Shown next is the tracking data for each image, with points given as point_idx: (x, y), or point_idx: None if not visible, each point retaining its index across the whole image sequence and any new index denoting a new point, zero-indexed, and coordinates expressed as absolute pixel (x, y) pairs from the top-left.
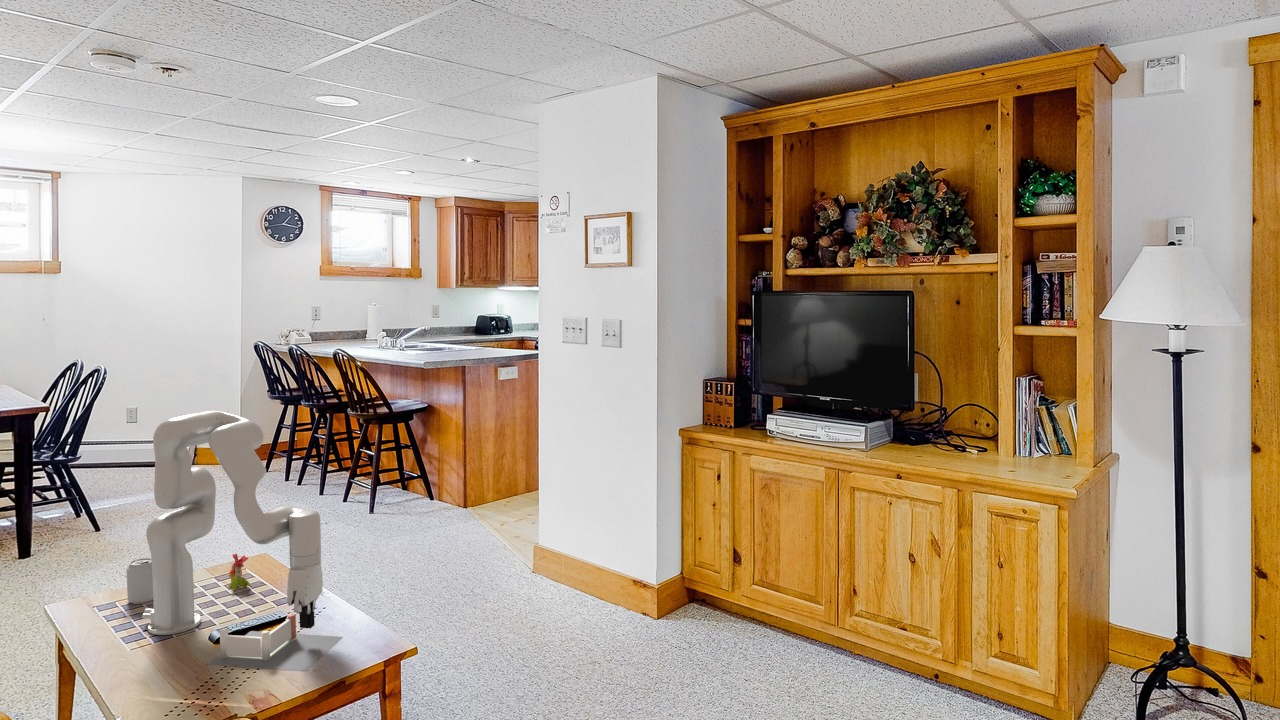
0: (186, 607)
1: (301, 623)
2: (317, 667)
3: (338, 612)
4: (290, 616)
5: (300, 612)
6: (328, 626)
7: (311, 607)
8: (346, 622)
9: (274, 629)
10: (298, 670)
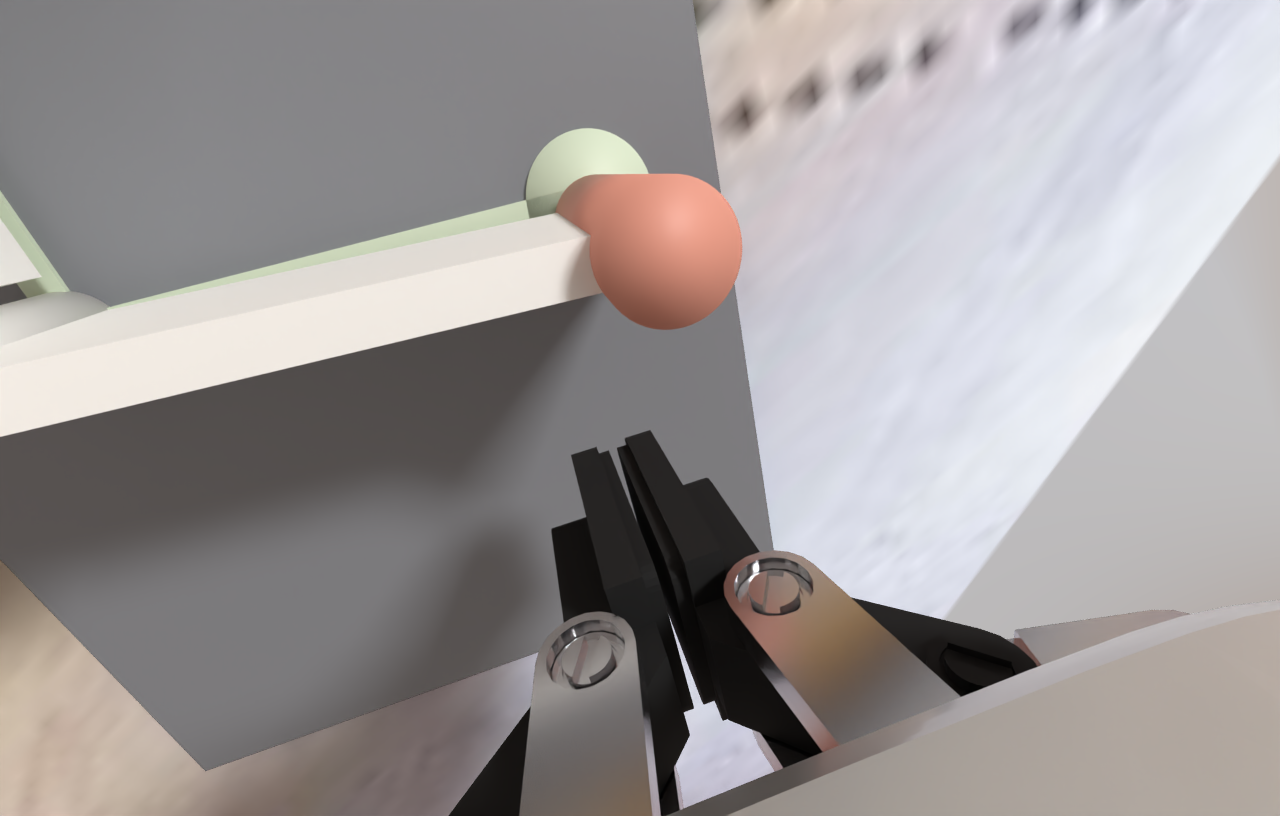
0: None
1: (555, 540)
2: (337, 732)
3: (1201, 166)
4: (629, 270)
5: (520, 748)
6: (942, 297)
7: (770, 750)
8: (1020, 374)
9: (91, 364)
10: (168, 726)
